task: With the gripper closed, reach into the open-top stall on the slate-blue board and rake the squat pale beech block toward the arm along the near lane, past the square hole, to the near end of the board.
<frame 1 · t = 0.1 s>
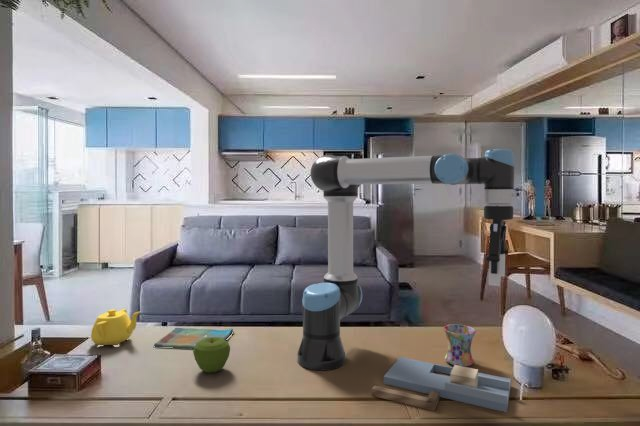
hand: (497, 280, 114), 28 cm above the table, fingers open, 13 cm apart
apple: (212, 371, 120), on the table
colourful book: (196, 342, 145), on the table
block: (464, 386, 106), point 2 cm above the table, touching board
board: (446, 384, 111), on the table
teapot: (118, 343, 142), on the table
crook tool: (403, 401, 102), on the table
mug: (458, 361, 127), on the table
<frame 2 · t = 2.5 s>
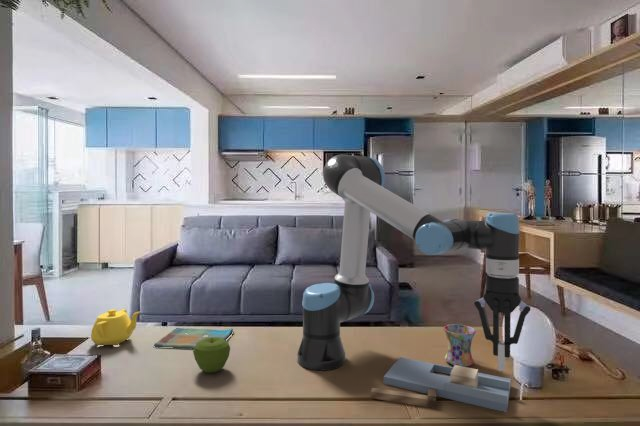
hand: (501, 368, 101), 9 cm above the table, fingers closed
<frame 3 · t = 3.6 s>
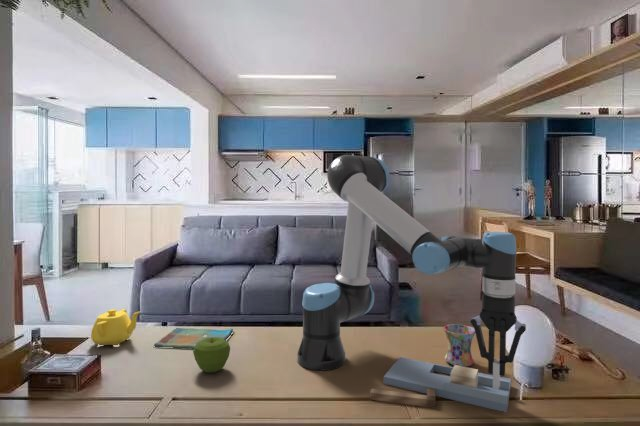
hand: (496, 386, 102), 4 cm above the table, fingers closed
crook tool: (402, 402, 102), on the table, touching board
everything else where it was.
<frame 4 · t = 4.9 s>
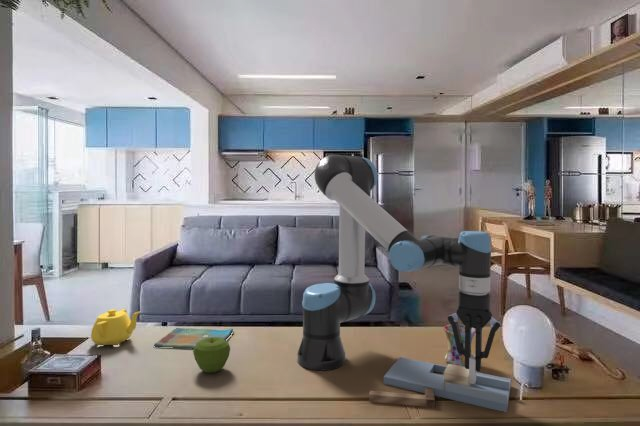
hand: (472, 381, 105), 4 cm above the table, fingers closed
block: (457, 385, 106), point 2 cm above the table, touching board, gripper
crook tool: (401, 402, 102), on the table
everything else where it was.
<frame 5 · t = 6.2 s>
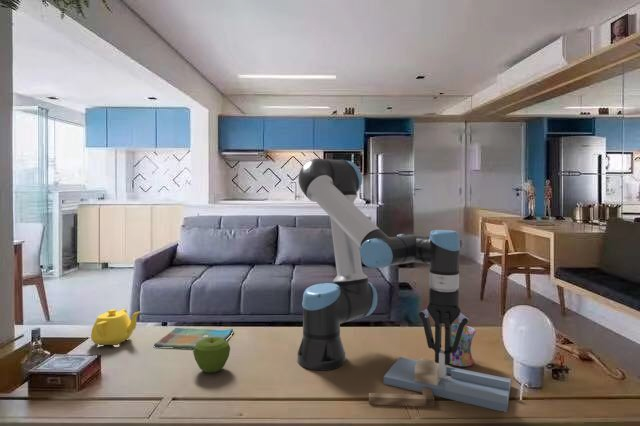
hand: (442, 375, 108), 4 cm above the table, fingers closed
block: (428, 378, 110), point 2 cm above the table, touching gripper
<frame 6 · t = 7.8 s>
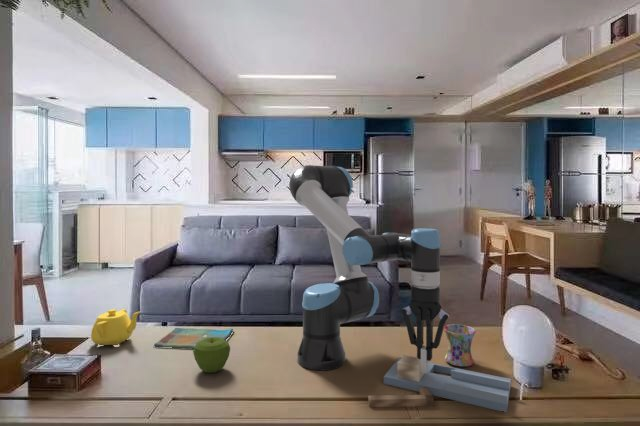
hand: (424, 370, 111), 4 cm above the table, fingers closed
block: (411, 374, 112), point 2 cm above the table, touching board, gripper
crook tool: (400, 404, 101), on the table, touching board
everything else where it was.
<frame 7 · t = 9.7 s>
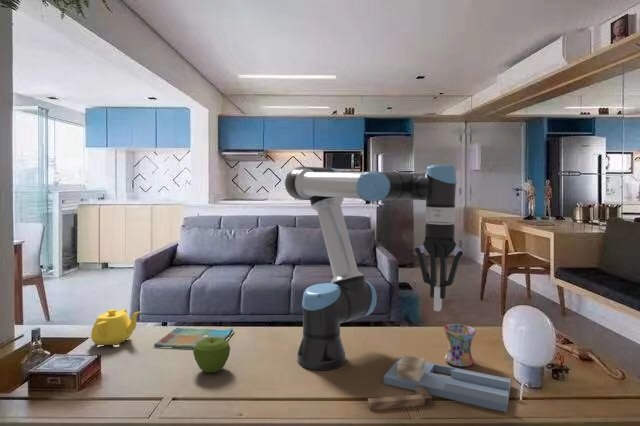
hand: (437, 309, 109), 21 cm above the table, fingers closed
block: (411, 374, 112), point 2 cm above the table, touching board
crook tool: (400, 405, 100), on the table
everything else where it was.
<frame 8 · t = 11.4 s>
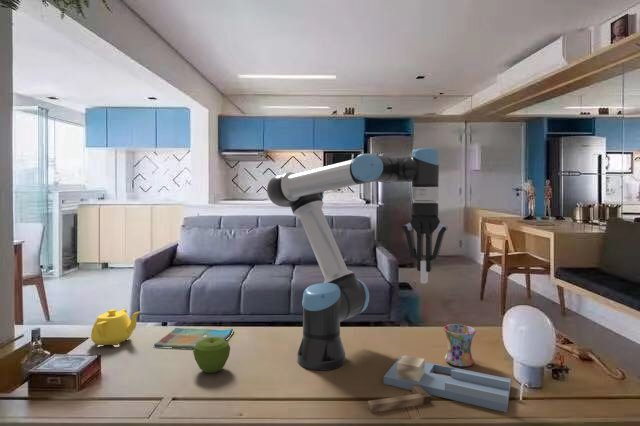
hand: (424, 282, 119), 26 cm above the table, fingers closed
at the end: block inside the target area (0.6 cm from its centre), point 2.0 cm above the table; block tilted 0° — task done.
